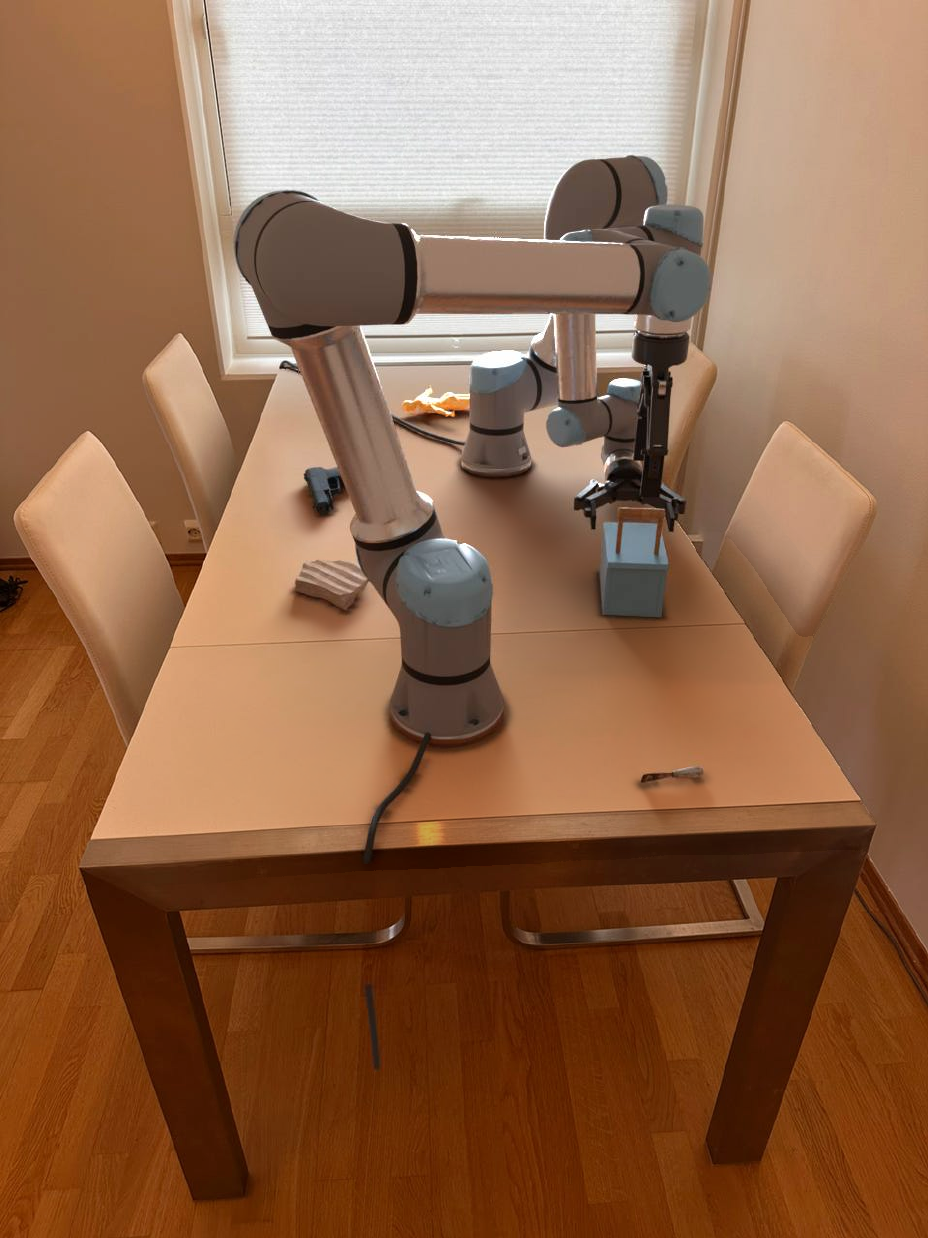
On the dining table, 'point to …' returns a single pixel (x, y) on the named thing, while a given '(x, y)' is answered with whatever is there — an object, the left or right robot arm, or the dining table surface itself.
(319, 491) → the handgun
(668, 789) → the dining table surface
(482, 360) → the right robot arm
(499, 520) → the dining table surface
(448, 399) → the human figure
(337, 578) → the stone
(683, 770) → the putty knife
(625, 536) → the lid
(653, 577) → the chest
